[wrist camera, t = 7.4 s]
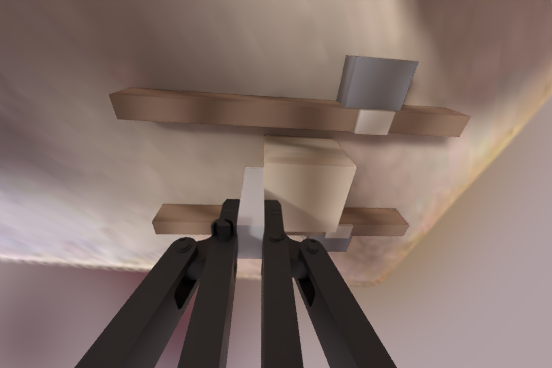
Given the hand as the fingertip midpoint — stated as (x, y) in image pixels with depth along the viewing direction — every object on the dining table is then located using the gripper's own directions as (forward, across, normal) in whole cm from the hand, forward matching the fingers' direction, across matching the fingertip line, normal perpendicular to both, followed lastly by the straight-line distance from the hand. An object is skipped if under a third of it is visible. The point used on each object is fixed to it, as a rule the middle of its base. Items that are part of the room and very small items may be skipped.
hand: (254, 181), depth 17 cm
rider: (+2, +4, 0) cm, 4 cm away
